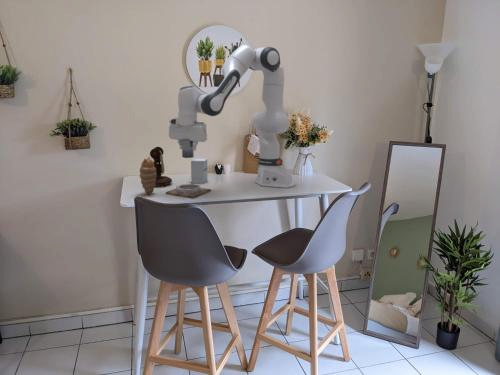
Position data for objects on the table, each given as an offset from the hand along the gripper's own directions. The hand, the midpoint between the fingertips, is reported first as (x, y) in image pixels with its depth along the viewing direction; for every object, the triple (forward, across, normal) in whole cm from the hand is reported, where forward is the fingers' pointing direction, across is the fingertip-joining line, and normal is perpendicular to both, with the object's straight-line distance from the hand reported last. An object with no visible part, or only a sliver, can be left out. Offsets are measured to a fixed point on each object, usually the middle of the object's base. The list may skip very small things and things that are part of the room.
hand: (187, 149), depth 192 cm
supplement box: (+22, +8, -22) cm, 32 cm away
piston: (+4, 0, 0) cm, 4 cm away
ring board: (+22, 0, 0) cm, 22 cm away
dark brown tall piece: (+22, +24, -6) cm, 33 cm away
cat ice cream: (+22, +15, +12) cm, 29 cm away
